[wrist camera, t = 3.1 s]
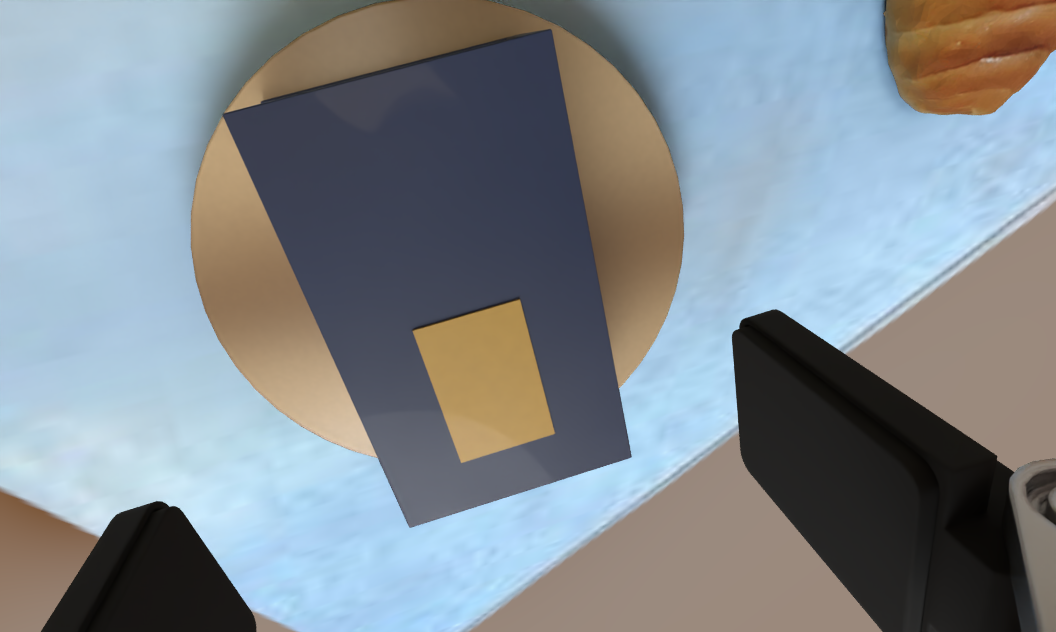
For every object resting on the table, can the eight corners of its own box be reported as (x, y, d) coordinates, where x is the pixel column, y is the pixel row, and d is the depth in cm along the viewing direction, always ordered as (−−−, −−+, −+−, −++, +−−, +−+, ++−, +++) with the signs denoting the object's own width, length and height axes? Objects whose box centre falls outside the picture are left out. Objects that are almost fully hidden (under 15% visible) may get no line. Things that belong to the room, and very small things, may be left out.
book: (85, 77, 14) (-34, 86, 10) (646, -63, 15) (725, -102, 11) (317, 504, 21) (296, 605, 17) (696, 386, 22) (757, 456, 18)
